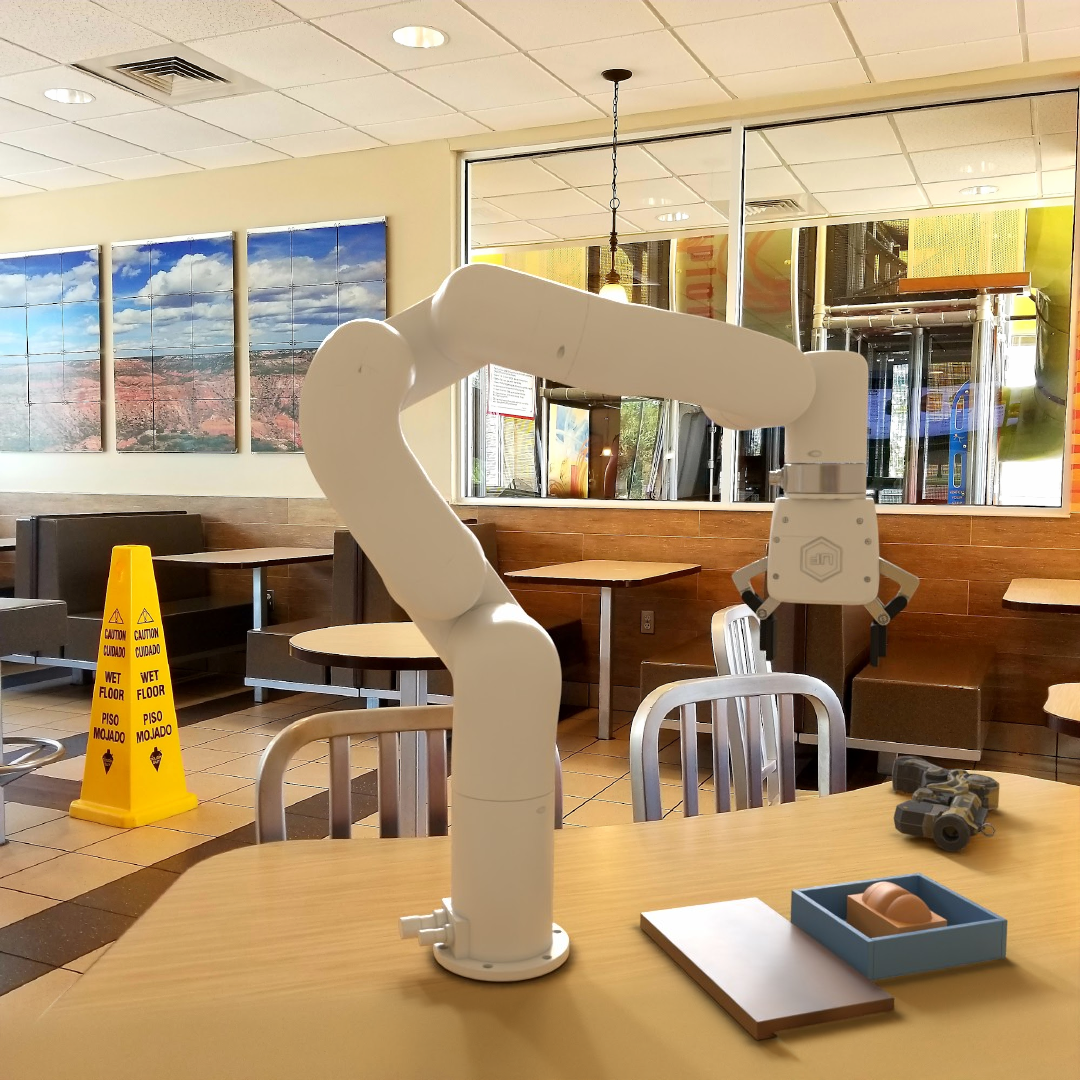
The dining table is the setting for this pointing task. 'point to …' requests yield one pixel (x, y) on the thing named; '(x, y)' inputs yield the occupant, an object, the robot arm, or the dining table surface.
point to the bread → (889, 911)
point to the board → (763, 966)
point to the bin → (959, 943)
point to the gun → (942, 802)
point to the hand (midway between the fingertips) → (822, 661)
